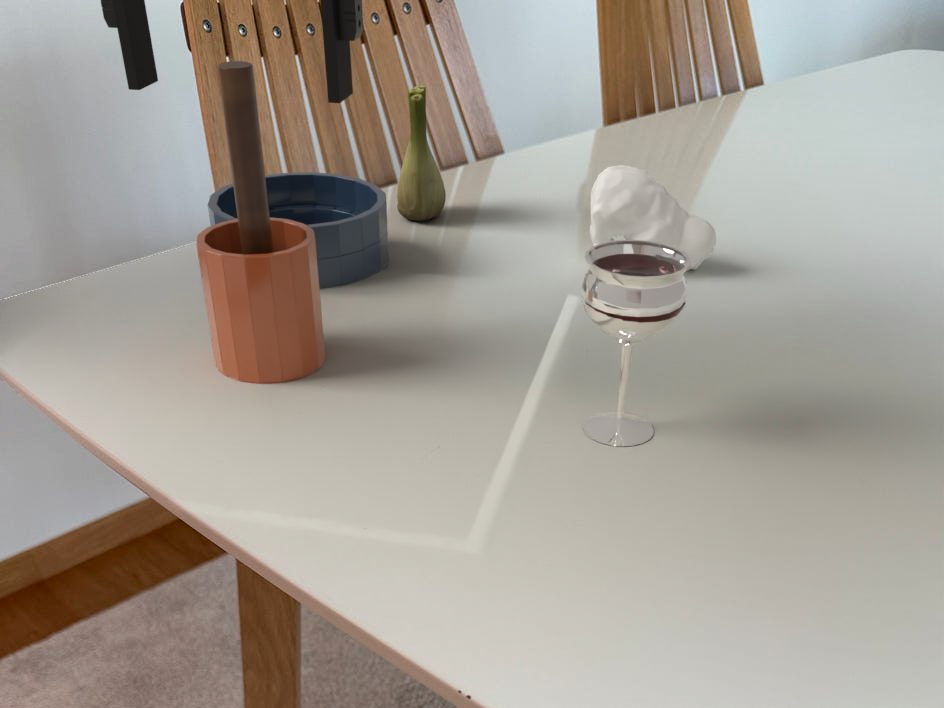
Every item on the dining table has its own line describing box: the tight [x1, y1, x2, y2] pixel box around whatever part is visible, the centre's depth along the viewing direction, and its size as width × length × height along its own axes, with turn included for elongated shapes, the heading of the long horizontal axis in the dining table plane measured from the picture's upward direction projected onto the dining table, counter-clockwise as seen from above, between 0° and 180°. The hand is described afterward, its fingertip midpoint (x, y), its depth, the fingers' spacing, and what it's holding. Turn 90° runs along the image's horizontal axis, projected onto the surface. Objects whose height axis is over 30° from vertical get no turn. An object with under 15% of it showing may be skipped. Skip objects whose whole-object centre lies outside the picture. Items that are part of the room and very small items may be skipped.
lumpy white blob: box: [589, 164, 717, 272], centre depth 95 cm, size 6×8×12 cm
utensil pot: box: [195, 217, 326, 385], centre depth 77 cm, size 8×8×10 cm
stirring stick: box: [217, 60, 274, 255], centre depth 73 cm, size 3×2×20 cm
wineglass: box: [581, 239, 690, 447], centre depth 70 cm, size 7×7×12 cm
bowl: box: [207, 171, 390, 290], centre depth 95 cm, size 16×16×6 cm
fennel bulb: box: [396, 85, 447, 222], centre depth 104 cm, size 6×5×12 cm
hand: (240, 92), depth 68 cm, fingers open, 13 cm apart
